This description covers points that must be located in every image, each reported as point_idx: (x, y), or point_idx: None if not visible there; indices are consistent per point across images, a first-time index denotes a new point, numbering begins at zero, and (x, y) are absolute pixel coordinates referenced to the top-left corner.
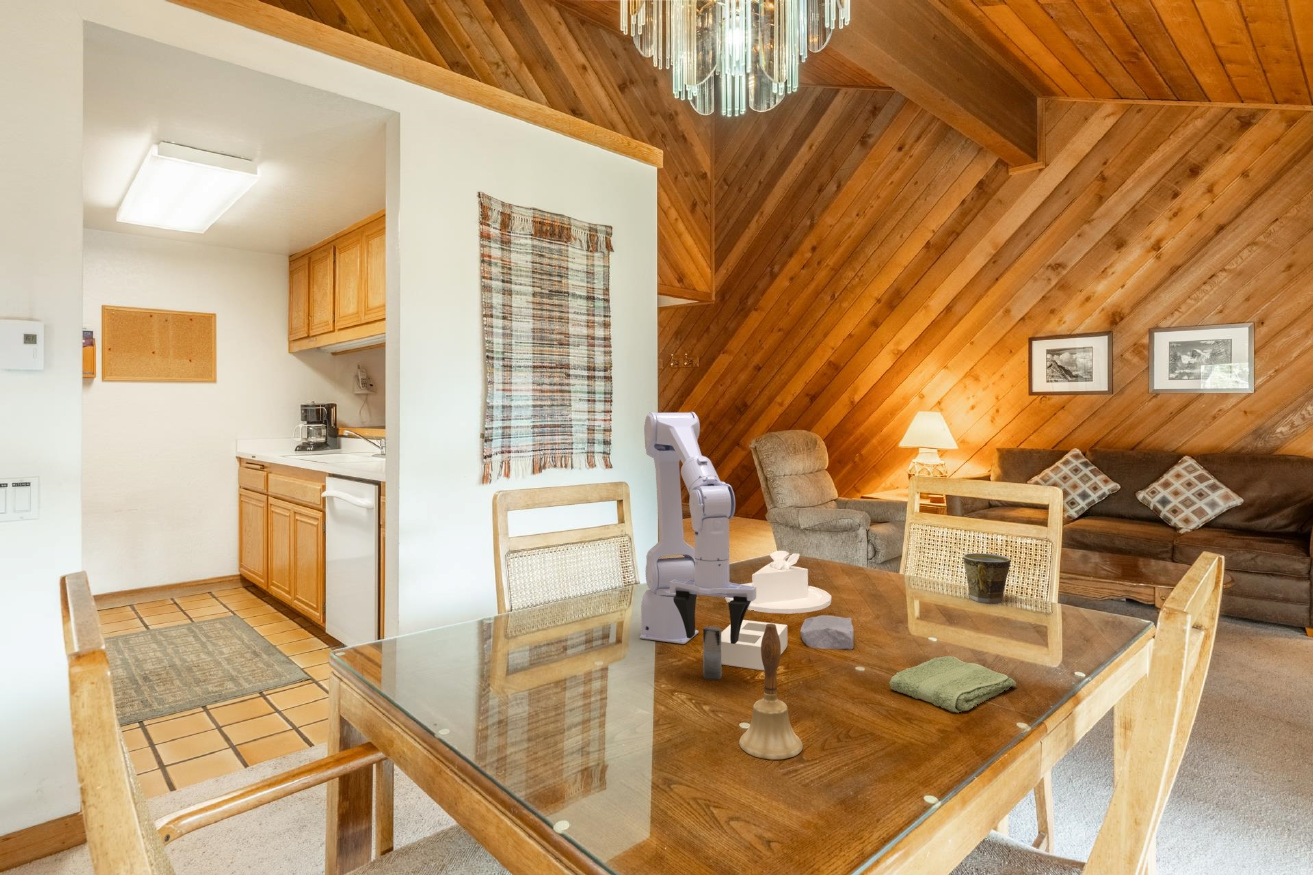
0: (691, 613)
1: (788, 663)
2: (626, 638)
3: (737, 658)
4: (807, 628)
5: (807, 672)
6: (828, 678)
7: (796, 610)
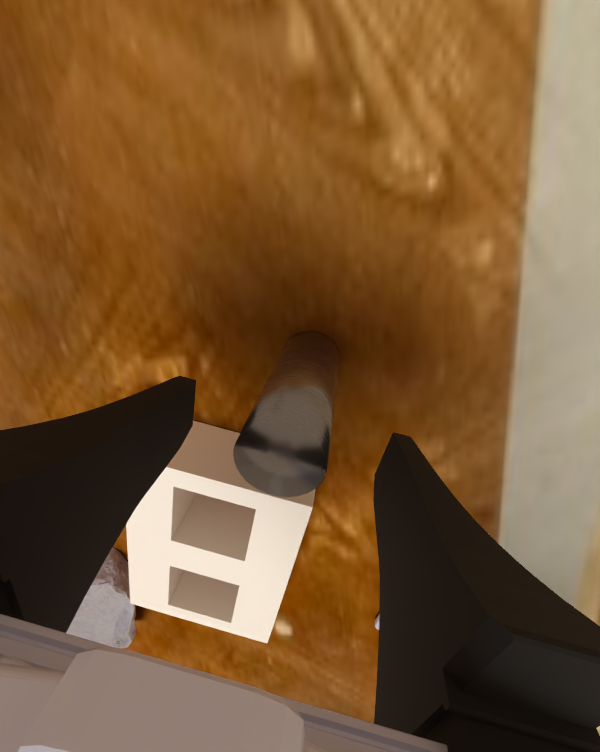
0: (401, 557)
1: None
2: (585, 604)
3: None
4: (111, 603)
5: (71, 411)
6: (13, 379)
7: None
